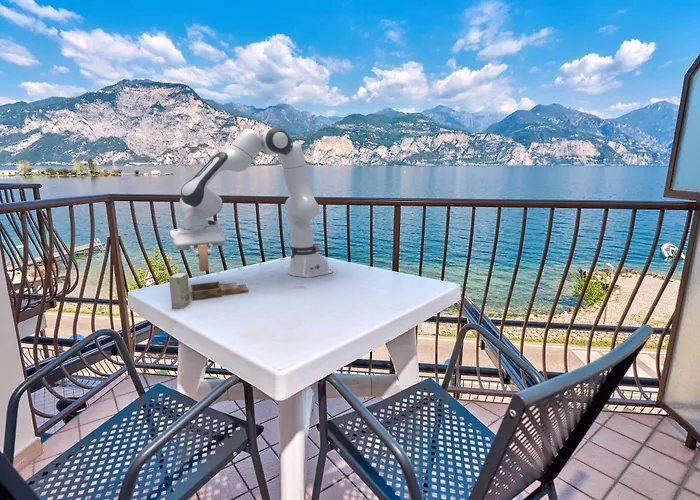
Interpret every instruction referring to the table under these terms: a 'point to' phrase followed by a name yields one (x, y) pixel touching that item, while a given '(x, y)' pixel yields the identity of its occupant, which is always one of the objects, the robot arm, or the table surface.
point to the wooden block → (203, 257)
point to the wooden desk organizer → (216, 290)
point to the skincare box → (179, 290)
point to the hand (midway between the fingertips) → (203, 255)
